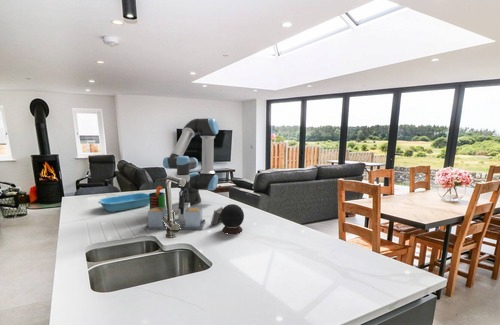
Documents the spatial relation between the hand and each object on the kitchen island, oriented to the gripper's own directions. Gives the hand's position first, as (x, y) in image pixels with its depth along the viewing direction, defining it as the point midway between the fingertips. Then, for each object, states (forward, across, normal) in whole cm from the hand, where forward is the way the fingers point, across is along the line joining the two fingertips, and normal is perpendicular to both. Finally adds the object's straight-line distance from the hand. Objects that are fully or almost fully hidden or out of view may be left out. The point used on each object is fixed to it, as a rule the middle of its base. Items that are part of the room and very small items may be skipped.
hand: (184, 216), depth 165 cm
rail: (+2, +12, -2) cm, 12 cm away
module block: (+2, 0, 0) cm, 2 cm away
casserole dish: (+3, -29, -49) cm, 57 cm away
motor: (+2, -4, -18) cm, 19 cm away
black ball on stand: (+2, +19, +31) cm, 36 cm away
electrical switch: (+2, +6, +22) cm, 23 cm away
